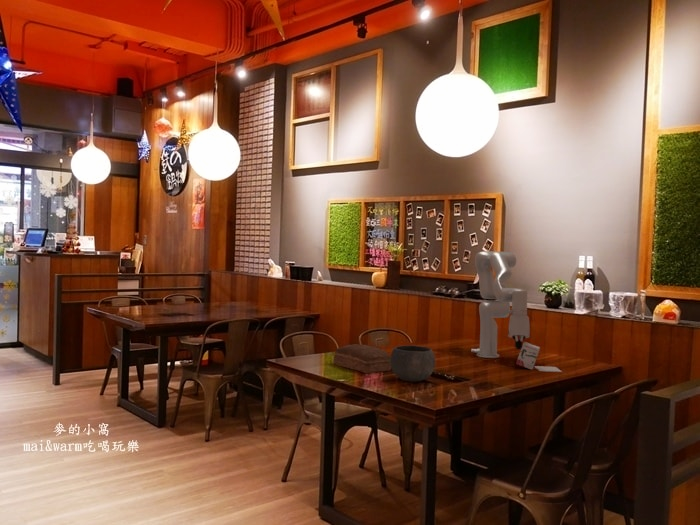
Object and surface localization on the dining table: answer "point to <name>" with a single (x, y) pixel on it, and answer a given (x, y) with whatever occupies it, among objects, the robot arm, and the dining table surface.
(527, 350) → the ink box
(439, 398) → the dining table surface
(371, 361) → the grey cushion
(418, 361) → the bowl
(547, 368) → the mat
